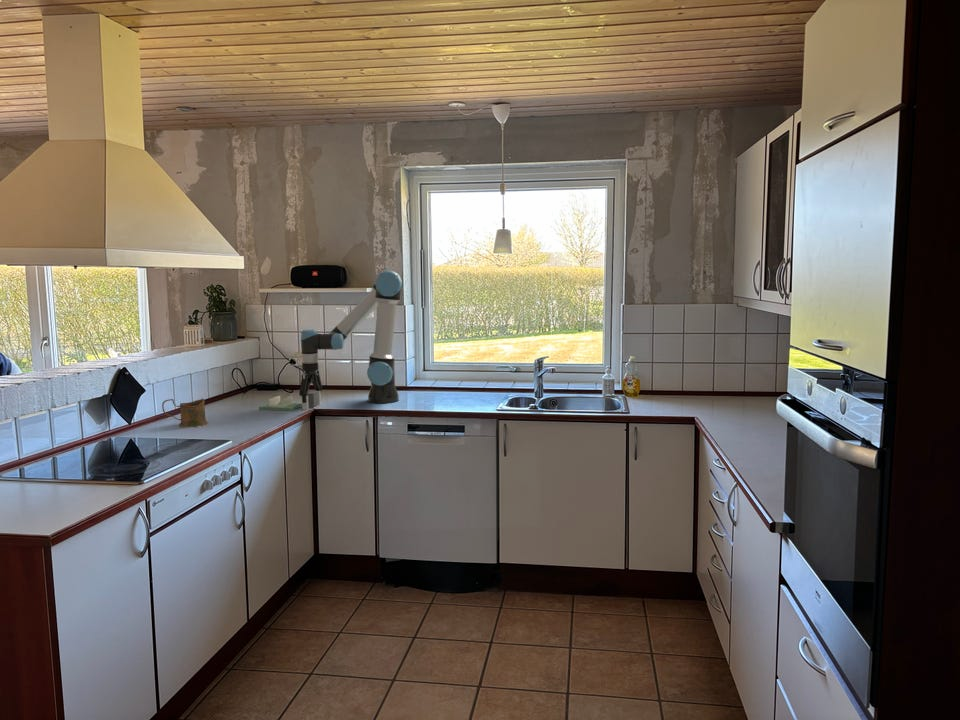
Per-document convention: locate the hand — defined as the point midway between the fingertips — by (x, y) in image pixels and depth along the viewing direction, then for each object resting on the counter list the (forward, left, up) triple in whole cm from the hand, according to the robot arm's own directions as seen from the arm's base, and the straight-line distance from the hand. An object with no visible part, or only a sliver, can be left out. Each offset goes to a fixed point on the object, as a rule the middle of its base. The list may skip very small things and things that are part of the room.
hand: (311, 406), depth 340 cm
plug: (0, 0, 0) cm, 0 cm away
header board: (+14, +4, 0) cm, 14 cm away
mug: (+35, +47, 0) cm, 58 cm away
